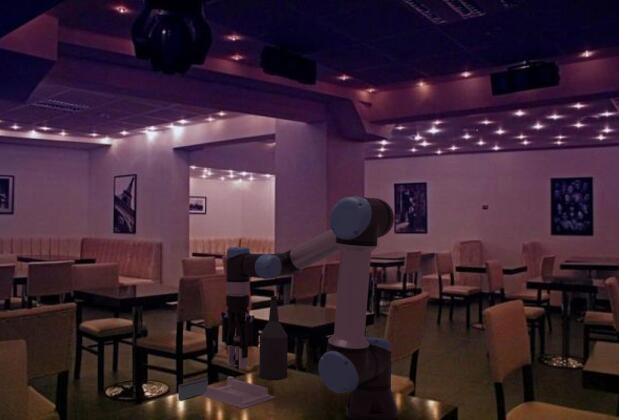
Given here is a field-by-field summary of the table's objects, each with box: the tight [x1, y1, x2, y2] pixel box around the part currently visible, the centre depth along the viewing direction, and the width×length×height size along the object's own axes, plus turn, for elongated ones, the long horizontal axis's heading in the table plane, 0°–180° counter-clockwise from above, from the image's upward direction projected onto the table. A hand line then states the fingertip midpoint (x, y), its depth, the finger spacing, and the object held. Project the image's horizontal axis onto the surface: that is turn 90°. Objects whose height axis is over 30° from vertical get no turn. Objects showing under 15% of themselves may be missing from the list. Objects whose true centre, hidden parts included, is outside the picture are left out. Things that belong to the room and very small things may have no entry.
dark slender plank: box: [177, 377, 209, 401], centre depth 184 cm, size 1×11×4 cm, turn 140°
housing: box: [199, 375, 276, 410], centre depth 186 cm, size 22×14×3 cm
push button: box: [231, 335, 245, 371], centre depth 185 cm, size 7×5×10 cm
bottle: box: [259, 295, 289, 381], centre depth 210 cm, size 10×10×30 cm
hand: (236, 366), depth 184 cm, fingers closed on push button, 5 cm apart
